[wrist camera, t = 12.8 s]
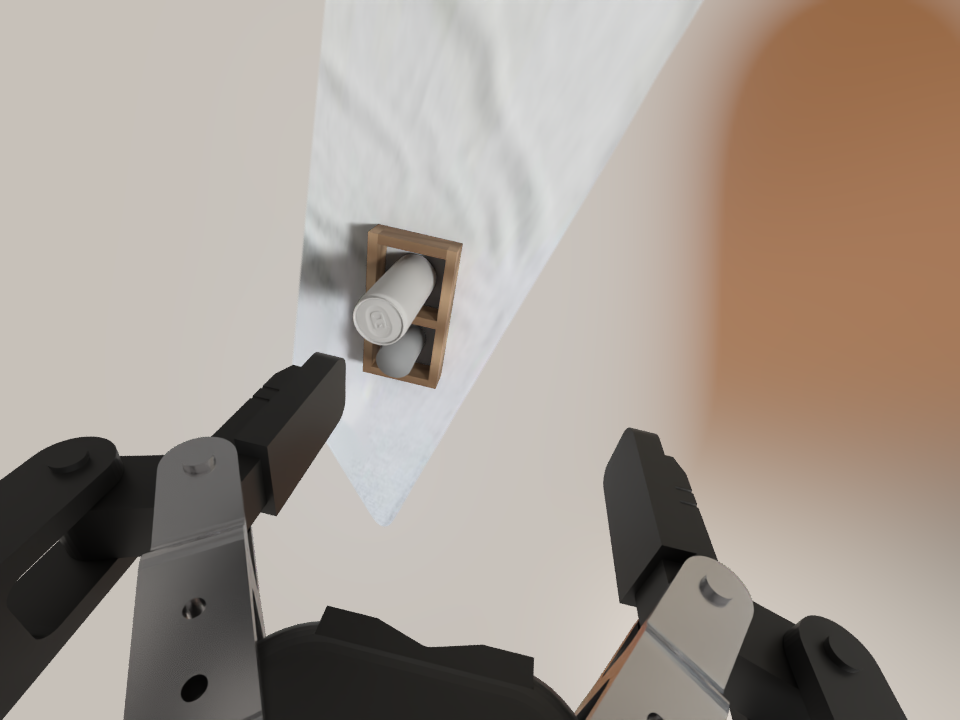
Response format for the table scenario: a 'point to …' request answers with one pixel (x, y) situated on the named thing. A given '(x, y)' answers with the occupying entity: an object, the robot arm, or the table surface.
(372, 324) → the beverage can
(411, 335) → the stub
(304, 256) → the table surface
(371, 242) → the rack
